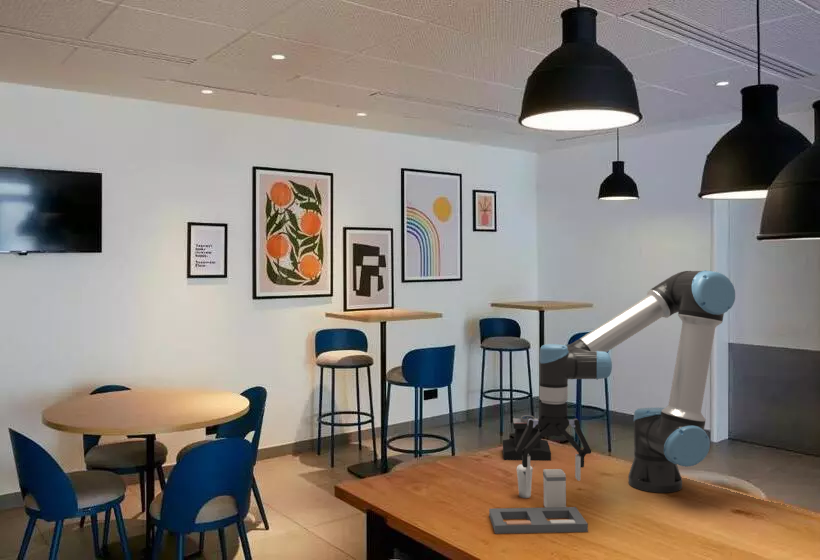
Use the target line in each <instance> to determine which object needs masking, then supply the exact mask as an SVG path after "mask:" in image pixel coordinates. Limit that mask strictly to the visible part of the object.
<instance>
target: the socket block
mask: <svg viewBox="0 0 820 560" xmlns="http://www.w3.org/2000/svg"><path fill="white" fill-rule="evenodd" d="M488 509H489V510H488V515H489V519H490V522H491V525H492V528H493V532H494V534H497V535H498V534H538V533H540V534H541V533H542V534H544V533H548V534H549V533H551V534H553V533H554V534H555V533H586V532H587V533H588V532H589V528H588V527H589V525H588V524H589V523H588V522H587V521H586V519H585V518H584V517H583V515H582V513H581V512H580V511H579V509H578V508H577V507H576V506H566V507H548V508H545V507H511V508H507V507H505V508H503V507H502V508H500V507H497V508H488ZM548 519H550V520H548ZM504 520H506V521H504Z"/></svg>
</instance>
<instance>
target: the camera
mask: <svg viewBox="0 0 820 560" xmlns="http://www.w3.org/2000/svg"><path fill="white" fill-rule="evenodd" d="M528 418H531V419H533V420H538V419H539V417H538V418H535V416H533V415H530V414H529V415H528V414H527V415H526V414H525V415H521V417H520V418H518V417H513V418H512V425H513V429H514V437H513V438H510V439H509V438H508V439H503V440H502V453H503V454H502V455H503V456H502V457H503V461H522V455H521V454H518V453H517V452H516V450H515V448H516V446H517V444H518V442H519V440H520V438H521V436H522V434H523V432H524V431H525V429H526V427H527V420H528ZM539 429H540V427H539V425H538V424H537V425H536V426H535V427H534V428H533V429H532V432H531V434H530V436H529V438H528V440H527V442H526V443H525V445H524V447H523V449H524V448H525V447H526V445H527V444H528V443H529V442H530V441H531V439H532V438H533V437H534V436H535V435H536V434H537V432H538V430H539ZM529 455H530V461H534V462H536V461H538V462H541V461H542V462H543V461H546V462H547V461H549V462H550V461H552V451H551V448H550V445H549V441H548V440H545V439H543V438H542V439H541V440H540V441H539V442H538V443H537V445H536V446H535V447H534V448H533V449H532V450H531V452H530V453H529Z"/></svg>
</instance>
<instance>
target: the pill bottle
mask: <svg viewBox="0 0 820 560" xmlns="http://www.w3.org/2000/svg"><path fill="white" fill-rule="evenodd" d="M534 467H535V465H533V466H532V465H530V481H527V479H526V467H523V465H522V463H521V464H518V465H517V466H516V476H517V488H518V489H517V490H518V496H519V497H520V498H522V499H528V498H531V495H532V482H533V481H532V480H533V469H534Z"/></svg>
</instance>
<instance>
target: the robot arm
mask: <svg viewBox="0 0 820 560" xmlns="http://www.w3.org/2000/svg"><path fill="white" fill-rule="evenodd" d="M735 300H736V290H735V287H734V284H733V283H732V281H731V280H730V278H728V276H727V275H725V274H723V273H722V272H718V271H713V270H684V271H680V272H677V273H675V274H673V275H671V276H670V277H668V278H666V279H664V280H663V281H661V282H660V283H658V284H656V285H655V286H653V287H652V288H650V289H649V290H648V291H647V293H646V296H644V297H643V298H641V299H640V300H638V301H636V302H635V303H633V304H632V305H630V306H629V307H627V308H625V309H624V310H623V311H621V312H619V313H618V314H616V315H614V316H613V317H611V318H610V319H608V320H606V321H605V322H604V323H602V324H601V325H599V326H597V327H596V328H594V329H593V330H591V331H589V332H588V333H585V335H583V336H582V337H580V338H578V339H577V340H575V341H574V342H572V343H570V344H560V343H559V344H558V343H545V344H543V345H541V347H540V349H539V360H538V363H539V364H538V365H539V394H538V395H539V396H538V398H539V399H538V400H540V401H539V403H538V404H539V407H538V410H539V411H538V414H539V416H538V418H539V419H538V420H533V419H531V418H528V420H527V427H526V429H525V431H524V432H523V434H522V436H521V438H520V440H519V442H518V444H517V446H516V448H515V450H516V452H517V453H518V454H521V455H522V460H521V464H522V465H523V467H526V479H527V481H530V466H531V460H530V455H529V453H530V452H531V450H532V449H533V448H534V447H535V446H536V445H537V443H538V442H539V441H540V440H541V439H542V440H543V438H544V437H545V436H547V437H554V436H555V437H560V436H563V437H564V438H565V439H566V440H567V441H568V442H569V444H570V445H571V446H572V447H573V449H575V450H576V452H577V453H575V457H574V460H575V461H574V462H575V463H574V465H575V467H574V469H575V470H574V472H575V473H574V474H575V475H574V478H575V479H576V480H577V481H579V482H580V481H581V473H582V471H581V468H584V467H585V457H586V455H591V454H592V449H591V448H590V445H589V443H588V441H587V439H586V437H585V435H584V433H583V431H582V429H581V425H580V420H579V419H578V418H576V417H573V419H568V403H567V401H568V399H569V398H568V386H569V385H568V381H569V380H600V379H607V378H609V377H610V376H611V373H612V368H613V364H612V363H613V362H612V358H611V356H610V354H609V353H608V352H609V351H610V350H612V349H614V348H615V347H617V346H619V345H620V344H622V343H623V342H624V341H626V340H628V339H630V338H631V337H633V336H634V335H636V334H638V333H639V332H641V331H643V330H644V329H646V328H647V327H648V326H650V325H652V324H653V323H655V322H657V321H658V320H660V319H661V318H665V319H667V318H669V317H671V316H673V315H674V314H677V313H678V314H677V316H678V317H679V319H680V320H681V321H682V324H681V329H680V334H679V335H680V336H679V340H678V341H679V342H678V347H677V353H676V359H675V365H674V370H673V378H672V381H671V388H670V395H669V401H668V405H667V406H666V407H643V408H642V407H641V408H637V409H636V410H635V411H634V412H633V421H632V422H633V443H634V444H633V447H634V448H633V451H634V452H633V453H634V454H633V455H634V457H633V460H632V464H631V466H630V470H629V473H628V484H629V486H630V487H633V488H634V489H636V490H637V489H638V490H640V491H645V492H651V493H659V494H660V493H661V494H662V493H674V492H678V491H680V490H681V489H682V488H683V478H682V476H681V473H680V469H679V467H678V466H681V467H687V468H688V467H693V466H696V465H698V464H699V463H701V462H702V461H704V459H705V458H706V457H707V456H708V454H709V451H710V447H711V440H710V437H709V435H708V434H707V432H706V431H705V426H706V420H707V419H706V418H705V417H704V415H703V414H702V408H703V403H704V396H705V390H706V384H707V379H708V378H707V377H708V372H709V366H710V362H711V360H710V359H711V357H712V349H713V343H714V338H715V337H714V336H715V332H716V328H717V327H718V326H720V325H721V324H723V320H724V316H725V315H724V314H725V313H727V312H728V311H729V310H731V309H732V307H733V305H734V304H735ZM537 424H538V425H539V427H540V429H538V432H537V434H536V435H535V436H534V437H533V438H532V439H531V441H530V442H529V443H528V444H527V445H526V447H525V448H524V449H523V447H524V445H525V443H526V442H527V440H528V438H529V436H530V434H531V432H532V429H533V428H534V427H535V426H536V425H537ZM569 426H571V428H573V429H574V431H575V433H576V435H577V437H578V439H579V441H580V444H581V446H582V448H581V447H580V446H579V444H578V443H577V441H575V440H574V439H573V438H572V436H571V435H570V434H569V432H568V431H567V428H568V427H569Z"/></svg>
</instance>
